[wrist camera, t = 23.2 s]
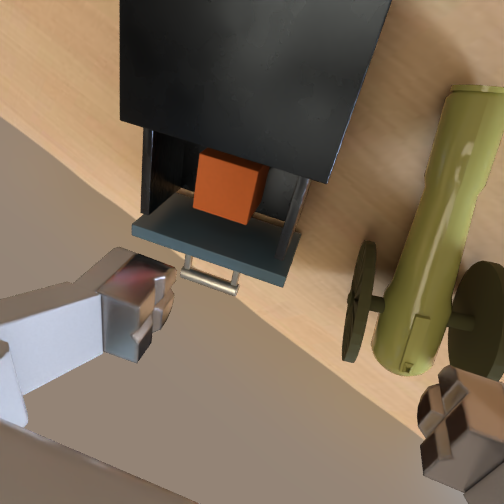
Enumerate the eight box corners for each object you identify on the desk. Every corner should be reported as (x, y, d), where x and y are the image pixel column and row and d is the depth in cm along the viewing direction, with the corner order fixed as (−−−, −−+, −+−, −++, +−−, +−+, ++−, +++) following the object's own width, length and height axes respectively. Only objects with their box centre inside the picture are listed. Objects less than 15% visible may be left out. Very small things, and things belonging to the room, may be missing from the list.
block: (261, 202, 35) (246, 225, 31) (212, 186, 36) (192, 207, 32) (273, 152, 33) (258, 171, 29) (220, 136, 33) (199, 153, 29)
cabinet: (338, 145, 33) (327, 185, 25) (177, 97, 34) (119, 120, 27) (412, -67, 24) (429, -107, 17) (195, -115, 26) (118, -173, 18)
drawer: (285, 280, 41) (269, 328, 34) (167, 239, 42) (130, 277, 36) (343, 110, 30) (334, 133, 24) (182, 64, 32) (134, 75, 26)
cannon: (395, 71, 29) (406, 96, 19) (569, 85, 26) (675, 121, 17) (339, 312, 42) (330, 394, 33) (450, 336, 40) (473, 432, 31)
